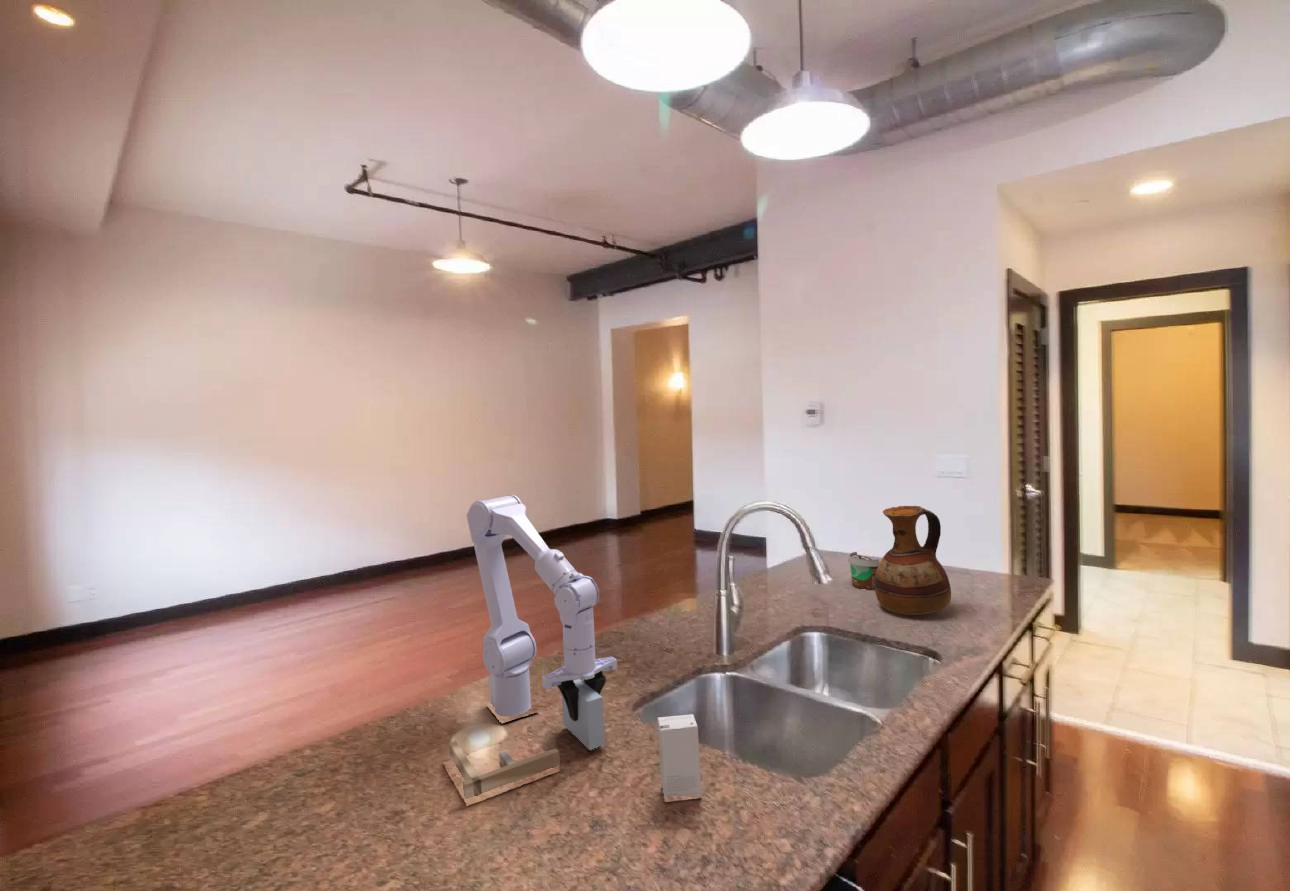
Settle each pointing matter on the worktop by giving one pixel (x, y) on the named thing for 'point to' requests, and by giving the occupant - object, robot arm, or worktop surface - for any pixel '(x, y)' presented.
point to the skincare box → (679, 755)
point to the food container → (863, 571)
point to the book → (586, 716)
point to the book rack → (500, 769)
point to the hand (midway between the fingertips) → (582, 715)
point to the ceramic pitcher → (912, 566)
